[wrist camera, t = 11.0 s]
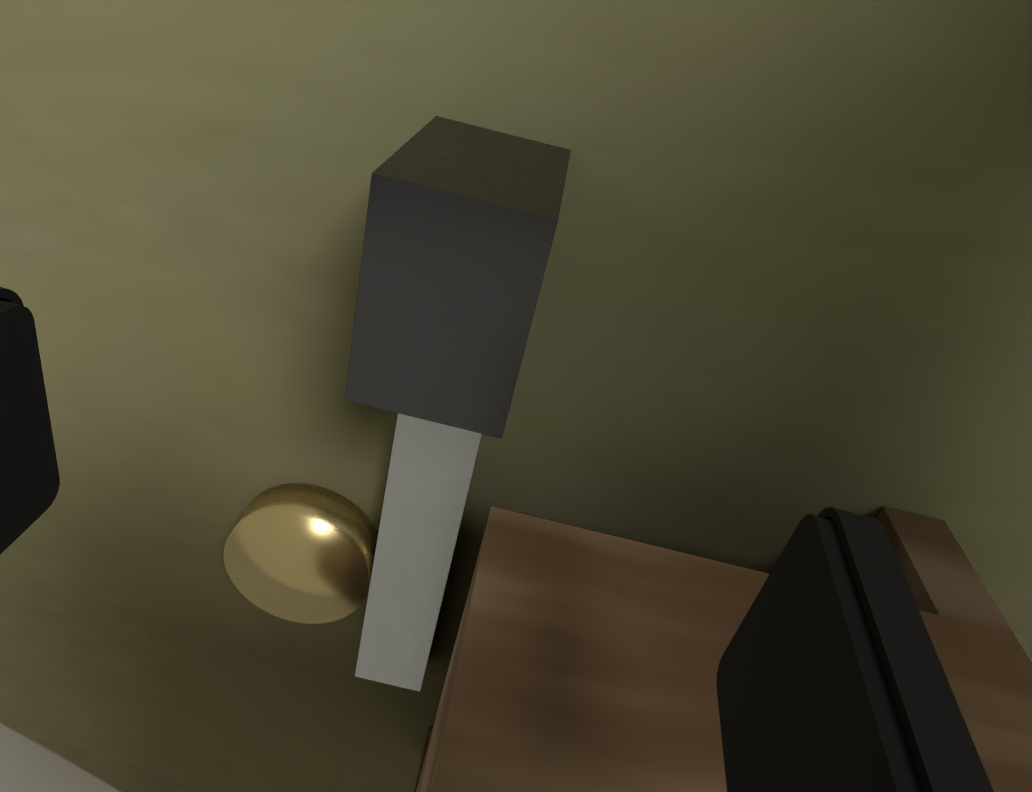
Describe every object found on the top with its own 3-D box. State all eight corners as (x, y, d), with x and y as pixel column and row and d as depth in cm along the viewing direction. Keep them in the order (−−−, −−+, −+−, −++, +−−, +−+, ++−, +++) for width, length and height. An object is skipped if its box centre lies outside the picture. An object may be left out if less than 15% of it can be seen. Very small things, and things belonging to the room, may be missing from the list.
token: (243, 467, 25) (219, 500, 24) (386, 494, 25) (372, 529, 24) (247, 573, 28) (226, 609, 26) (377, 598, 28) (364, 635, 26)
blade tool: (436, 116, 19) (372, 173, 14) (570, 150, 19) (557, 220, 14) (353, 641, 29) (298, 788, 24) (440, 662, 29) (405, 813, 24)
